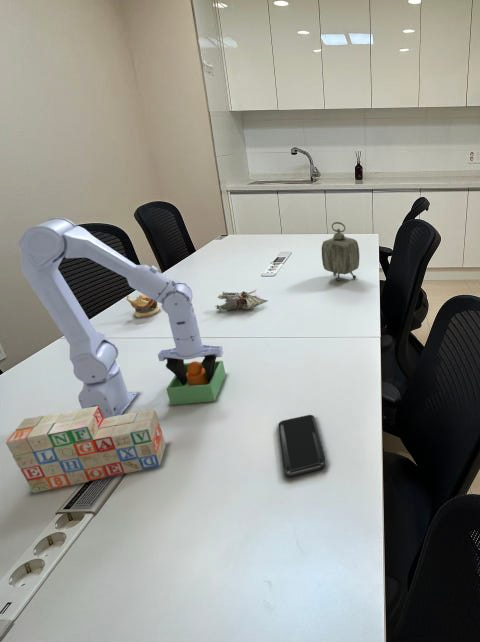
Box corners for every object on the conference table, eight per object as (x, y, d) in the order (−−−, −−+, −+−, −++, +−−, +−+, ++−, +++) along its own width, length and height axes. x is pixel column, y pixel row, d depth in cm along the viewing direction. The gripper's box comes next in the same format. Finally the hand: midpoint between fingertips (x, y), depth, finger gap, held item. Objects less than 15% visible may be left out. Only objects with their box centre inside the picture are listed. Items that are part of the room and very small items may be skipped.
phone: (284, 474, 71) (278, 421, 84) (285, 478, 72) (278, 425, 85) (326, 463, 73) (314, 413, 86) (327, 468, 74) (314, 417, 87)
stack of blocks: (166, 444, 80) (152, 396, 75) (160, 467, 75) (143, 416, 70) (47, 467, 75) (23, 417, 70) (31, 494, 70) (3, 441, 65)
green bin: (214, 401, 93) (210, 385, 91) (170, 404, 92) (166, 389, 91) (225, 375, 103) (222, 360, 102) (186, 378, 103) (182, 363, 101)
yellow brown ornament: (160, 317, 138) (154, 295, 135) (128, 322, 135) (122, 300, 132) (162, 304, 148) (157, 284, 145) (133, 309, 145) (127, 288, 142)
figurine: (235, 283, 153) (274, 286, 150) (237, 297, 155) (276, 300, 152) (205, 300, 135) (249, 303, 132) (207, 316, 137) (251, 319, 134)
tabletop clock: (360, 278, 170) (358, 221, 160) (348, 284, 163) (345, 226, 153) (334, 273, 178) (330, 218, 167) (321, 279, 171) (317, 222, 160)
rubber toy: (205, 391, 96) (199, 366, 93) (187, 393, 96) (180, 368, 93) (210, 381, 100) (205, 357, 97) (193, 382, 100) (187, 358, 97)
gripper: (221, 324, 96) (231, 370, 101) (161, 328, 95) (173, 375, 100) (214, 338, 89) (224, 386, 95) (149, 342, 88) (163, 391, 94)
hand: (197, 381), depth 97 cm, fingers open, 6 cm apart
